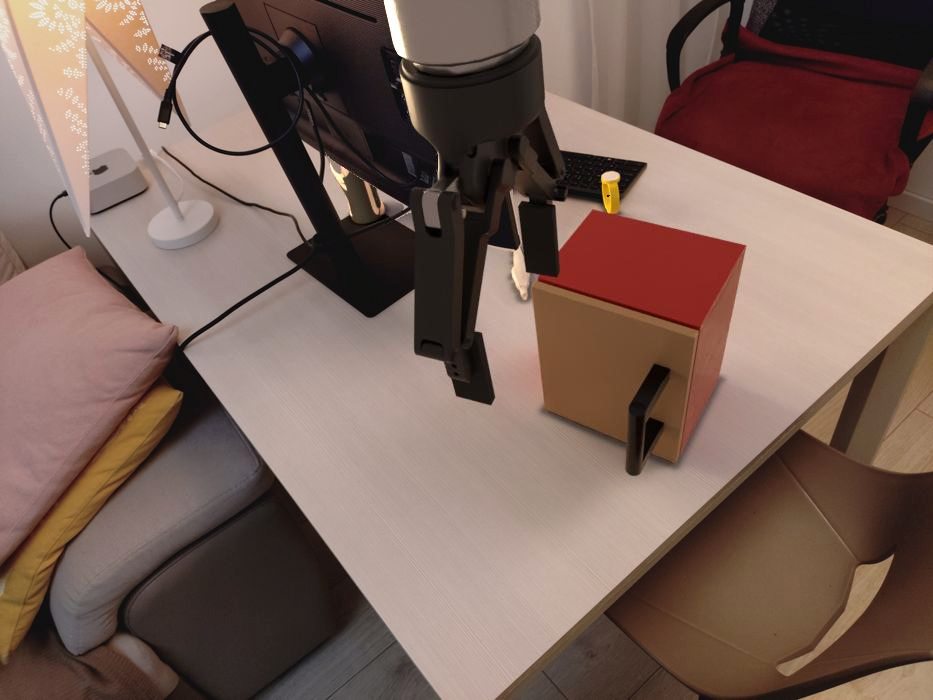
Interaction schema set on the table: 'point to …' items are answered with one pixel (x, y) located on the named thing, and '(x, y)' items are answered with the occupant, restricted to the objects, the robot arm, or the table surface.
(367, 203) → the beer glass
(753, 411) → the table surface
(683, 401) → the cabinet door
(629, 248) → the cabinet
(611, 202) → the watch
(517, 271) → the white elongated piece
